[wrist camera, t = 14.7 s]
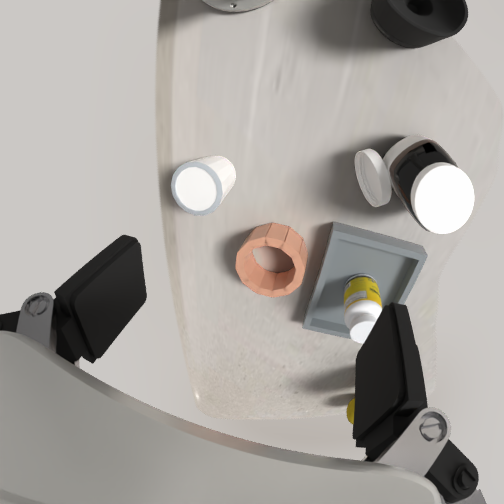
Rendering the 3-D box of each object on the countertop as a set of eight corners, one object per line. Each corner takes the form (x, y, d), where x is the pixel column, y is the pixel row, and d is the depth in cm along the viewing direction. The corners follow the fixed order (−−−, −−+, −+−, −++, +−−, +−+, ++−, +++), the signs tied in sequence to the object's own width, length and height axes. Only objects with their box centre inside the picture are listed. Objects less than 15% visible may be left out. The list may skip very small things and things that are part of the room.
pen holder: (363, -15, 19) (372, -50, 11) (431, -1, 17) (458, -26, 9) (370, 44, 24) (385, 23, 16) (439, 58, 22) (473, 47, 13)
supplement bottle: (382, 295, 40) (389, 341, 31) (350, 305, 42) (350, 351, 34) (372, 267, 38) (380, 312, 30) (338, 279, 40) (337, 324, 32)
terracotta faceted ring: (248, 217, 40) (239, 230, 36) (313, 232, 39) (311, 247, 35) (242, 270, 45) (233, 287, 41) (299, 285, 44) (295, 303, 40)
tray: (333, 221, 37) (333, 230, 35) (422, 246, 35) (427, 255, 33) (304, 316, 47) (302, 328, 44) (378, 333, 44) (379, 344, 42)
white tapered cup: (214, 206, 41) (194, 226, 35) (185, 170, 39) (160, 184, 33) (250, 180, 37) (234, 196, 31) (219, 141, 36) (197, 149, 30)
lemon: (361, 387, 53) (360, 417, 46) (375, 395, 53) (375, 425, 47) (342, 396, 56) (340, 425, 49) (357, 404, 56) (355, 432, 50)
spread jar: (451, 186, 30) (491, 220, 20) (390, 230, 35) (407, 278, 26) (404, 110, 27) (438, 114, 17) (338, 161, 33) (343, 186, 23)
